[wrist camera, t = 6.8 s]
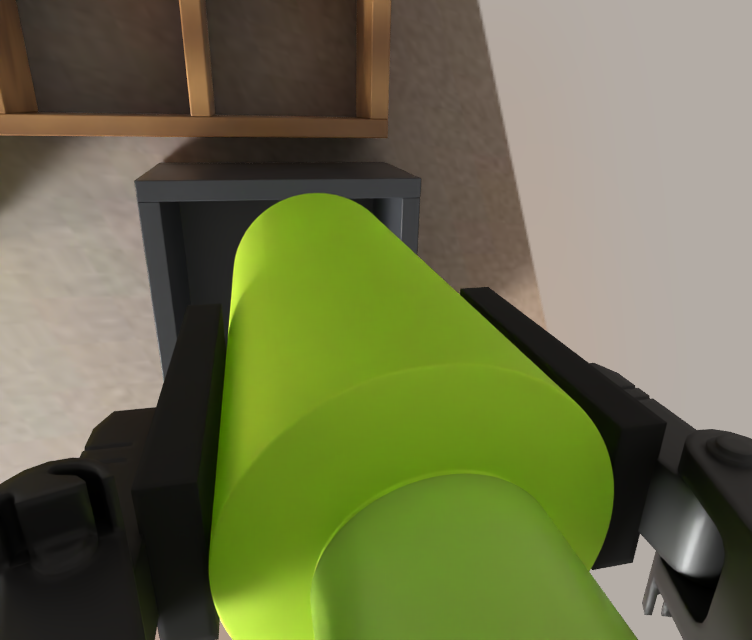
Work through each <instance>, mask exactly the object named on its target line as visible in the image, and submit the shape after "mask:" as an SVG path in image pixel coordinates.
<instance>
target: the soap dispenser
mask: <svg viewBox="0 0 752 640" xmlns="http://www.w3.org/2000/svg"><path fill="white" fill-rule="evenodd" d="M613 499H614V480H613V471H612V466H611V461H610V457H609V454H608V451H607V448H606V445H605V443H604V441H603V439H602V437H601V435H600V433H599V431H598V429H597V428H596V426H595V424H594V423H593V422H592V420H591V419H590V417H589V416H588V415H587V414H586V413H585V411H584V410H583V409H582V408H581V407H580V406H579V405H578V404H577V403H576V402H575V401H574V400H573V399H572V398H571V397H570V396H569V395H567V394H566V393H565V392H564V391H563V390H562V389H561V388H560V387H559V386H558V385H557V384H556V383H555V382H553V381H552V380H551V379H550V378H549V377H548V376H547V375H546V374H545V373H544V372H543V371H542V370H540V369H539V368H538V367H537V366H536V365H535V364H534V363H533V362H532V361H531V360H530V359H529V358H527V357H526V356H525V355H524V354H523V353H522V352H521V351H520V350H519V349H518V348H517V347H516V346H515V345H513V344H512V343H511V342H510V341H509V340H508V339H507V338H506V337H505V336H504V335H503V334H502V333H500V332H499V331H498V330H497V329H496V328H495V327H494V326H493V325H492V324H491V323H490V322H489V321H488V320H486V319H485V318H484V317H483V316H482V315H481V314H480V313H479V312H478V311H477V310H476V309H475V308H473V307H472V306H471V305H470V304H469V303H468V302H467V301H466V300H465V299H464V298H463V297H462V296H461V295H459V294H458V293H457V292H456V291H455V290H454V289H453V288H452V287H451V286H450V285H449V284H448V283H446V282H445V281H444V280H443V279H442V278H441V277H440V276H439V275H438V274H437V273H436V272H435V271H433V270H432V269H431V268H430V267H429V266H428V265H427V264H426V263H425V262H424V261H423V260H422V259H421V258H419V257H418V256H417V255H416V254H415V253H414V252H413V251H412V250H411V249H410V248H409V247H408V246H406V245H405V244H404V243H403V242H402V241H401V240H400V239H399V238H398V237H397V236H396V235H395V234H394V233H392V232H391V231H390V230H389V229H388V228H387V227H386V226H385V225H384V224H383V223H382V222H381V221H379V220H378V219H377V218H376V217H375V216H374V215H373V214H372V213H371V212H370V211H368V210H367V209H366V208H364V207H363V206H361V205H360V204H358V203H356V202H354V201H352V200H350V199H347V198H344V197H341V196H338V195H333V194H326V193H308V194H302V195H297V196H293V197H290V198H287V199H285V200H282V201H280V202H278V203H276V204H274V205H273V206H271V207H270V208H268V209H267V210H266V211H264V212H263V213H262V214H261V215H260V216H258V217H257V218H256V219H255V221H254V222H253V223H252V224H251V225H250V227H249V228H248V229H247V231H246V232H245V234H244V236H243V238H242V240H241V242H240V244H239V247H238V249H237V253H236V256H235V261H234V270H233V282H232V294H231V305H230V317H229V329H228V340H227V352H226V363H225V375H224V387H223V398H222V410H221V422H220V433H219V445H218V456H217V468H216V480H215V491H214V503H213V514H212V526H211V538H210V549H209V581H210V588H211V594H212V598H213V602H214V605H215V608H216V610H217V613H218V615H219V618H220V620H221V622H222V624H223V625H224V627H225V629H226V631H227V632H228V634H229V635H230V636H231V638H232V639H233V640H638V639H637V637H636V636H635V635H634V633H633V632H632V630H631V629H630V628H629V626H628V625H627V624H626V622H625V621H624V619H623V618H622V617H621V615H620V614H619V612H618V611H617V610H616V608H615V607H614V606H613V604H612V603H611V601H610V600H609V599H608V597H607V596H606V594H605V593H604V592H603V590H602V589H601V588H600V586H599V585H598V583H597V582H596V581H595V579H594V578H593V577H592V575H591V574H590V572H589V571H590V569H591V568H592V566H593V564H594V562H595V560H596V558H597V556H598V554H599V552H600V550H601V548H602V545H603V543H604V540H605V537H606V534H607V531H608V528H609V524H610V520H611V515H612V509H613Z"/></svg>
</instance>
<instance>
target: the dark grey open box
mask: <svg viewBox="0 0 752 640" xmlns="http://www.w3.org/2000/svg"><path fill="white" fill-rule="evenodd" d="M134 183H135V190H136V197H137V202H138V203H137V204H138V210H139V217H140V224H141V231H142V238H143V245H144V251H145V258H146V265H147V272H148V279H149V286H150V292H151V299H152V306H153V313H154V320H155V327H156V333H157V340H158V347H159V354H160V361H161V368H162V374H163V381H164V380H165V377H166V374H167V370H168V367H169V364H170V361H171V357H172V354H173V351H174V348H175V344H176V341H177V338H178V335H179V331H180V328H181V325H182V322H183V318H184V315H185V312H186V309H187V305H204V304H220V303H221V305H222V315H223V324H224V334H225V344H226V352H227V340H228V329H229V317H230V305H231V294H232V282H233V270H234V261H235V256H236V253H237V249H238V247H239V244H240V242H241V240H242V238H243V236H244V234H245V232H246V231H247V229H248V228H249V227H250V225H251V224H252V223H253V222H254V221H255V219H256V218H257V217H258V216H260V215H261V214H262V213H263V212H264V211H266V210H267V209H268V208H270V207H271V206H273V205H274V204H276V203H278V202H280V201H282V200H285V199H287V198H290V197H293V196H297V195H302V194H308V193H326V194H333V195H338V196H341V197H344V198H347V199H350V200H352V201H354V202H356V203H358V204H360V205H361V206H363V207H364V208H366V209H367V210H368V211H370V212H371V213H372V214H373V215H374V216H375V217H376V218H377V219H378V220H379V221H381V222H382V223H383V224H384V225H385V226H386V227H387V228H388V229H389V230H390V231H391V232H392V233H394V234H395V235H396V236H397V237H398V238H399V239H400V240H401V241H402V242H403V243H404V244H405V245H406V246H408V247H409V248H410V249H411V250H412V251H413V252H414V253H415V254H416V255H417V250H418V230H419V210H420V198H419V197H420V193H421V178H419V177H417V176H415V175H412V174H410V173H408V172H406V171H403V170H401V169H399V168H397V167H394V166H392V165H390V164H388V163H385V162H296V163H159V164H157V165H156V166H155V167H153V168H152V169H150V170H149V171H148V172H146V173H145V174H143V175H142V176H141V177H139V178H138V179H136V180H135V181H134Z"/></svg>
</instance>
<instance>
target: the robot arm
mask: <svg viewBox="0 0 752 640" xmlns="http://www.w3.org/2000/svg"><path fill="white" fill-rule="evenodd" d="M460 295H461V296H462V297H463V298H464V299H465V300H466V301H467V302H468V303H469V304H470V305H471V306H472V307H473V308H475V309H476V310H477V311H478V312H479V313H480V314H481V315H482V316H483V317H484V318H485V319H486V320H488V321H489V322H490V323H491V324H492V325H493V326H494V327H495V328H496V329H497V330H498V331H499V332H500V333H502V334H503V335H504V336H505V337H506V338H507V339H508V340H509V341H510V342H511V343H512V344H513V345H515V346H516V347H517V348H518V349H519V350H520V351H521V352H522V353H523V354H524V355H525V356H526V357H527V358H529V359H530V360H531V361H532V362H533V363H534V364H535V365H536V366H537V367H538V368H539V369H540V370H542V371H543V372H544V373H545V374H546V375H547V376H548V377H549V378H550V379H551V380H552V381H553V382H555V383H556V384H557V385H558V386H559V387H560V388H561V389H562V390H563V391H564V392H565V393H566V394H567V395H569V396H570V397H571V398H572V399H573V400H574V401H575V402H576V403H577V404H578V405H579V406H580V407H581V408H582V409H583V410H584V411H585V413H586V414H587V415H588V416H589V417H590V419H591V420H592V422H593V423H594V424H595V426H596V428H597V429H598V431H599V433H600V435H601V437H602V439H603V441H604V443H605V445H606V448H607V451H608V454H609V457H610V461H611V466H612V471H613V480H614V499H613V509H612V515H611V520H610V524H609V528H608V531H607V534H606V537H605V540H604V543H603V545H602V548H601V550H600V552H599V554H598V556H597V558H596V560H595V562H594V564H593V566H592V568H591V569H592V570H595V569H600V568H606V567H611V566H617V565H622V564H627V563H632V562H633V559H634V555H635V551H636V547H637V543H638V539H639V535H640V534H641V535H642V536H643V537H644V538H645V539H646V540H647V541H648V542H649V544H650V545H651V546H652V547H653V548H654V549H655V550H656V552H655V556H654V560H653V564H652V568H651V571H650V575H649V579H648V583H647V587H646V590H645V594H644V598H643V602H642V604H643V609H644V614H645V615H652V612H653V608H654V605H655V601H656V598H657V595H658V594H661V595H662V597H663V599H664V603H663V606H662V612H661V615H662V616H668V617H672V618H673V620H674V622H675V624H676V626H677V628H678V630H679V632H680V634H681V636H682V638H683V640H752V439H751V438H748V437H745V436H742V435H738V434H735V433H732V432H727V431H720V430H714V429H708V430H696V429H694V428H693V427H692V426H690V425H689V424H687V423H686V422H685V421H683V420H681V418H679V417H678V416H676V415H675V414H674V413H672V412H671V411H669V410H668V409H667V408H665V407H664V406H662V405H661V404H660V403H658V402H657V401H656V400H654V399H650V398H649V395H647V394H646V393H645V392H643V391H642V390H641V389H639V388H635V385H634V384H632V383H631V382H629V381H628V380H627V379H625V378H624V377H623V376H621V375H620V374H618V373H617V372H614V371H612V370H610V369H607V368H605V367H603V366H600V365H598V364H595V363H588V362H587V361H585V360H584V359H583V358H581V357H580V356H579V355H577V354H576V353H575V352H573V351H572V350H571V349H569V348H568V347H567V346H565V345H564V344H563V343H561V342H560V341H559V340H557V339H556V338H555V337H554V336H552V335H551V334H550V333H548V332H547V331H546V330H544V329H543V328H542V327H540V326H539V325H538V324H536V323H535V322H534V321H532V320H531V319H530V318H528V317H527V316H526V315H524V314H523V313H522V312H521V311H519V310H518V309H517V308H515V307H514V306H513V305H511V304H510V303H509V302H507V301H506V300H505V299H503V298H502V297H501V296H499V295H498V294H497V293H495V292H494V291H493V290H491V289H490V288H489V287H479V288H463V289H461V290H460ZM225 363H226V344H225V334H224V324H223V315H222V305H221V303H220V304H204V305H187V309H186V312H185V315H184V318H183V322H182V325H181V328H180V331H179V335H178V338H177V341H176V344H175V348H174V351H173V354H172V357H171V361H170V364H169V367H168V370H167V374H166V377H165V380H164V383H163V387H162V390H161V393H160V396H159V400H158V403H157V406H156V407H155V408H145V409H134V410H124V411H114V412H113V413H111V414H110V415H109V416H108V417H107V418H106V419H104V420H103V421H102V422H101V423H100V424H98V425H97V426H96V427H95V428H94V429H93V431H92V433H91V435H90V437H89V439H88V441H87V443H86V446H85V451H83V452H82V454H81V456H80V458H68V459H62V460H56V461H50V462H46V463H44V464H41V465H38V466H35V467H32V468H29V469H27V470H24V471H22V472H20V473H19V474H17V475H15V476H13V477H12V478H10V479H8V480H6V481H4V482H3V483H1V484H0V640H155V635H156V629H157V627H158V632H159V638H160V640H217V639H218V637H219V619H220V618H219V615H218V613H217V610H216V608H215V605H214V602H213V598H212V594H211V588H210V581H209V549H210V538H211V526H212V514H213V503H214V491H215V480H216V468H217V456H218V445H219V433H220V422H221V410H222V398H223V387H224V375H225Z"/></svg>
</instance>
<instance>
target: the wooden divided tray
mask: <svg viewBox="0 0 752 640" xmlns="http://www.w3.org/2000/svg"><path fill="white" fill-rule="evenodd" d="M179 6H180V15H181V25H182V35H183V44H184V54H185V64H186V74H187V83H188V93H189V103H190V112H191V114H137V113H73V112H38V107H37V102H36V97H35V92H34V87H33V82H32V77H31V72H30V68H29V63H28V58H27V53H26V48H25V43H24V38H23V33H22V28H21V23H20V18H19V13H18V8H17V3H16V0H0V135H13V136H148V137H283V138H387V137H388V120H387V119H388V104H389V67H390V29H391V0H357V18H356V117H327V116H264V115H214V114H215V104H214V93H213V81H212V70H211V58H210V47H209V35H208V24H207V12H206V1H205V0H179Z"/></svg>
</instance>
